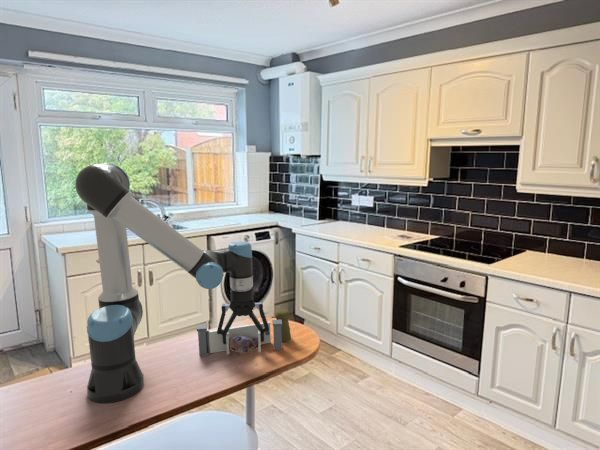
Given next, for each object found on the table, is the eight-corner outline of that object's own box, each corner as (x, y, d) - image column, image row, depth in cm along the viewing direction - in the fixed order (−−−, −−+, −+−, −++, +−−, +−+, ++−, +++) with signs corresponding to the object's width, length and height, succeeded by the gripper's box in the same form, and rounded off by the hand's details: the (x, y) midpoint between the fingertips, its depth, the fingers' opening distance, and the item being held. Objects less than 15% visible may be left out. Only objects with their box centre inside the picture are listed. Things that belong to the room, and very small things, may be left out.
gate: (208, 355, 142) (206, 333, 140) (207, 352, 144) (205, 330, 143) (271, 344, 149) (271, 323, 148) (269, 341, 152) (269, 320, 150)
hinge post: (198, 356, 141) (196, 329, 140) (199, 351, 145) (197, 324, 143) (208, 355, 142) (206, 328, 140) (208, 351, 145) (207, 324, 144)
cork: (273, 336, 156) (272, 308, 154) (289, 335, 157) (289, 307, 155) (275, 343, 150) (275, 314, 148) (292, 342, 151) (291, 313, 149)
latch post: (273, 351, 144) (272, 324, 143) (272, 346, 148) (272, 320, 146) (282, 350, 145) (282, 323, 143) (282, 345, 148) (281, 319, 147)
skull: (256, 342, 150) (255, 326, 149) (267, 350, 144) (266, 333, 143) (225, 351, 143) (224, 334, 142) (235, 360, 137) (235, 342, 136)
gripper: (206, 293, 135) (209, 358, 138) (276, 290, 137) (277, 354, 141) (208, 286, 142) (211, 348, 146) (275, 283, 145) (276, 344, 148)
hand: (244, 351), depth 143 cm, fingers closed on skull, 10 cm apart
